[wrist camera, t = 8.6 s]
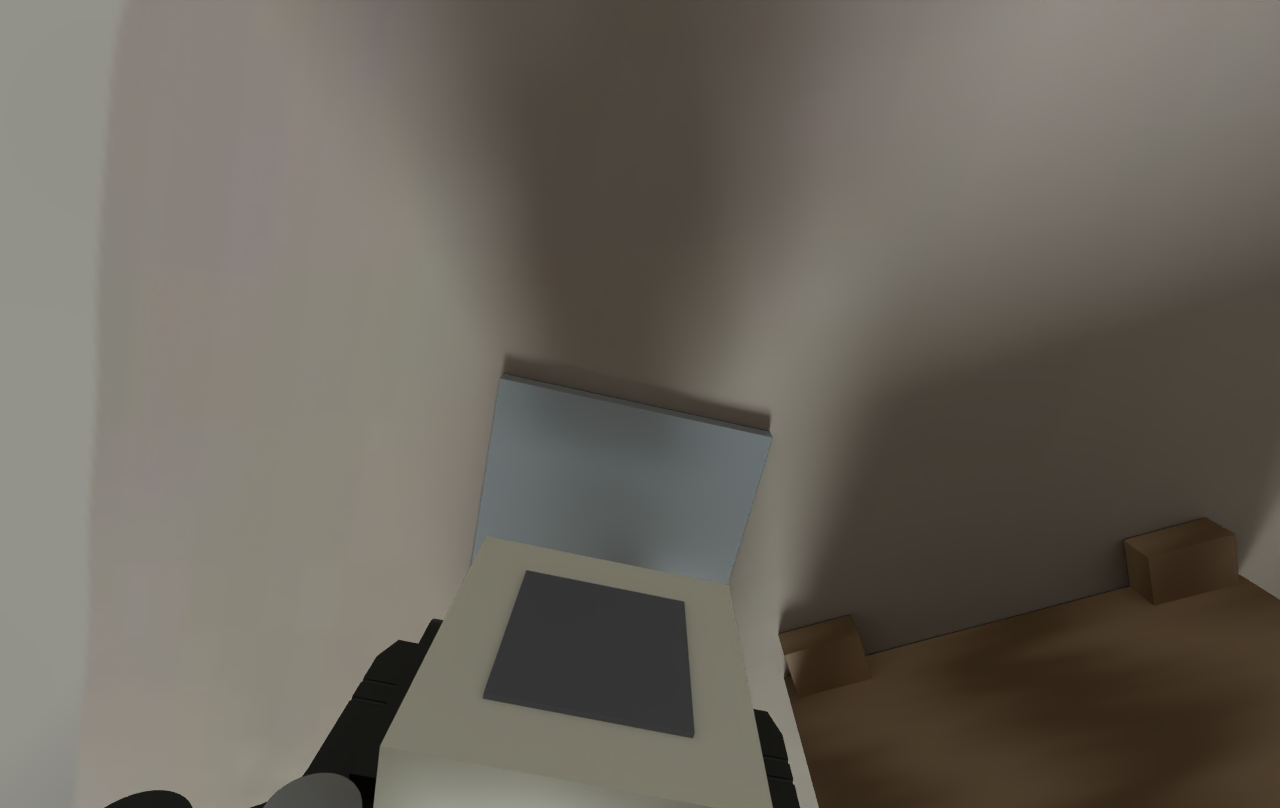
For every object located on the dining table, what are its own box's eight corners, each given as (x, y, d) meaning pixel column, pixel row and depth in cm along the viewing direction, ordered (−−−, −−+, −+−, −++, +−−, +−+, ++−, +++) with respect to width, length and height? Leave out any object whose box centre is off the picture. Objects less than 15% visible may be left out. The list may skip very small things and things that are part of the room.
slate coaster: (769, 431, 18) (772, 437, 18) (703, 649, 21) (704, 659, 20) (504, 373, 18) (499, 378, 17) (468, 602, 20) (463, 611, 20)
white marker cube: (672, 768, 14) (682, 1066, 9) (456, 727, 14) (348, 1011, 9) (729, 580, 12) (778, 820, 8) (486, 531, 12) (377, 746, 7)
